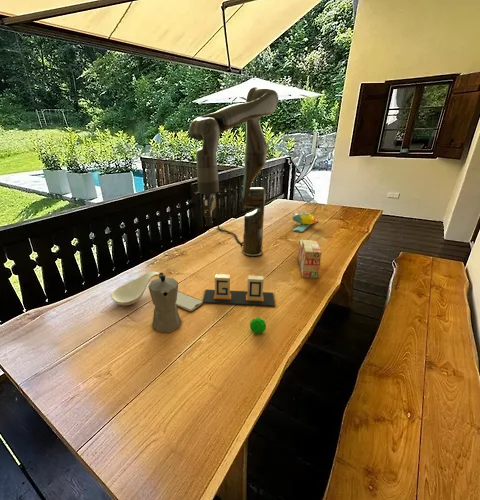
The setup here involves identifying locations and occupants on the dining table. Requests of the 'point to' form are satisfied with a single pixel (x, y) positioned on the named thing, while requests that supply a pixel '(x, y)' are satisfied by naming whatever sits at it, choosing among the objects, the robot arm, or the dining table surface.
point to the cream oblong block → (222, 286)
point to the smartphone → (187, 301)
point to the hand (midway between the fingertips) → (210, 221)
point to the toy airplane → (303, 221)
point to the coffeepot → (164, 303)
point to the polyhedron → (258, 325)
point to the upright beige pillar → (255, 287)
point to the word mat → (239, 299)
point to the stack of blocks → (309, 258)
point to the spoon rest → (132, 290)
